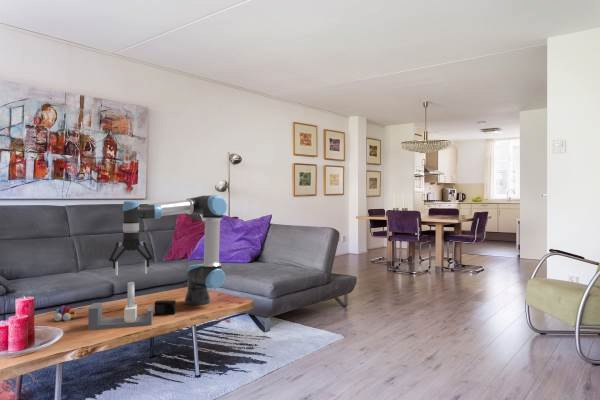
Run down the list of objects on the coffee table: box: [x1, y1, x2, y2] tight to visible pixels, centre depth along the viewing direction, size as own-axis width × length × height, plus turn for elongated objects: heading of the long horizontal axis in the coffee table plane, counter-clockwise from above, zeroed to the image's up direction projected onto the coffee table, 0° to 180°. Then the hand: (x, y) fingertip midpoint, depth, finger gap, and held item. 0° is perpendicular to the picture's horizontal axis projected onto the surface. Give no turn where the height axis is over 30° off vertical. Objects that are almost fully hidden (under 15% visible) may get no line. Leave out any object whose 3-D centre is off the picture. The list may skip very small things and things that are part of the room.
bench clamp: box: [87, 302, 154, 331], centre depth 204 cm, size 28×12×10 cm, turn 107°
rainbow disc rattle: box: [53, 305, 76, 322], centre depth 212 cm, size 8×10×7 cm
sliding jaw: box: [123, 281, 138, 322], centre depth 205 cm, size 5×9×18 cm, turn 17°
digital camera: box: [154, 299, 177, 316], centre depth 222 cm, size 10×5×7 cm, turn 99°
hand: (131, 274), depth 205 cm, fingers open, 13 cm apart
